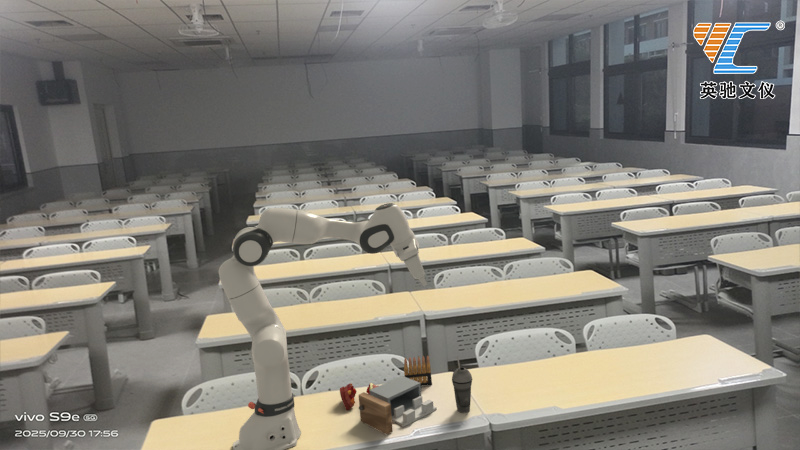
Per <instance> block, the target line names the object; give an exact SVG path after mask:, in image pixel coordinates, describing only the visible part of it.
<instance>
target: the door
mask: <svg viewBox="0 0 800 450" xmlns="http://www.w3.org/2000/svg"><path fill="white" fill-rule="evenodd" d="M358 405H359V406H358V409H359V419H360V423H363V424H365V425H367V426H369V427H371V428H372V429H375V430H377V431H379V432H381V433H383V434H385V435H389V434H391V433H393V432H394V431H393V430H394V429H393V421H392V415H391V404H389V403H387V402H385V401H383V400H380V399H378V398H376V397H374V396H371V395H369V394H368V393H367V392H361V393H359V394H358Z"/></svg>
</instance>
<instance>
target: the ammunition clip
mask: <svg viewBox="0 0 800 450" xmlns="http://www.w3.org/2000/svg"><path fill="white" fill-rule="evenodd" d="M412 359H413V361H412ZM430 360H431V359H430V356H429V355H427V356H426V359H425V356H424V355H423V356H422V358H421V357H420V356H417V360H416V357H415V356H413V358H411V357H410V356H409V358H408V360H407V357H404V360H403V361H404V362H403V363H404V364H403V365H404V367H403V373H404V374H403V375H404V377H407V378H409V379H412V380H414V381H417V382H420V383H421V387H425V386H426V387H427V386H432V385H433V382H432V381H433V380H432V369H431V363H430V362H431V361H430Z"/></svg>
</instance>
